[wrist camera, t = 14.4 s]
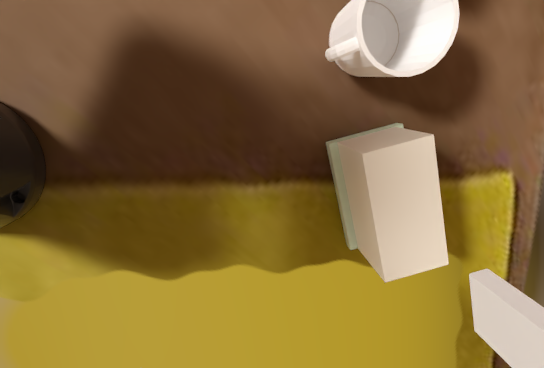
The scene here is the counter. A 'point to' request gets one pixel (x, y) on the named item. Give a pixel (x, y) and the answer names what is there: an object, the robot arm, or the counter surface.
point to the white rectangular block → (395, 201)
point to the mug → (392, 36)
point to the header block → (341, 187)
